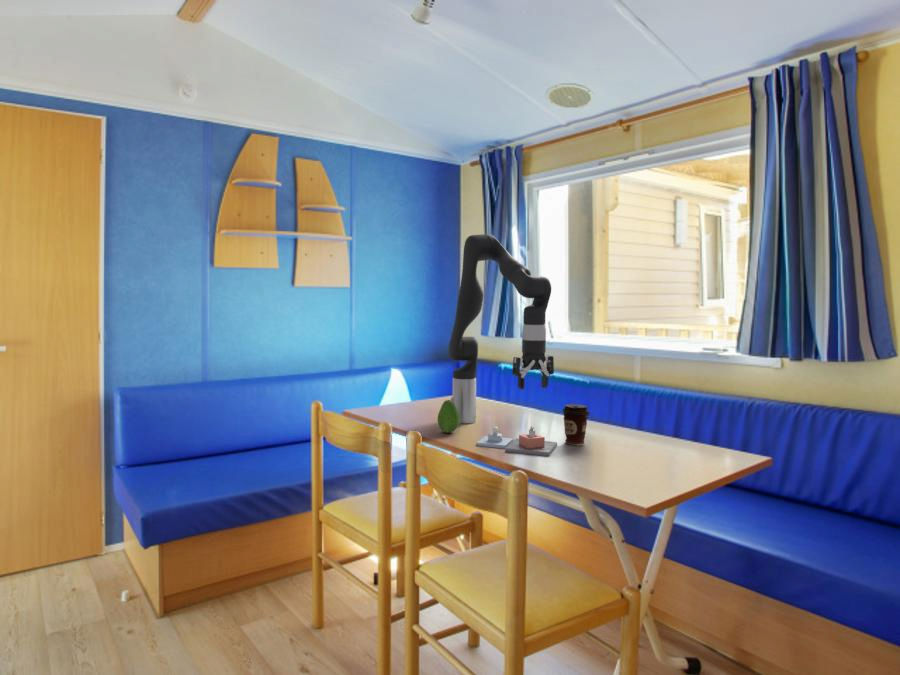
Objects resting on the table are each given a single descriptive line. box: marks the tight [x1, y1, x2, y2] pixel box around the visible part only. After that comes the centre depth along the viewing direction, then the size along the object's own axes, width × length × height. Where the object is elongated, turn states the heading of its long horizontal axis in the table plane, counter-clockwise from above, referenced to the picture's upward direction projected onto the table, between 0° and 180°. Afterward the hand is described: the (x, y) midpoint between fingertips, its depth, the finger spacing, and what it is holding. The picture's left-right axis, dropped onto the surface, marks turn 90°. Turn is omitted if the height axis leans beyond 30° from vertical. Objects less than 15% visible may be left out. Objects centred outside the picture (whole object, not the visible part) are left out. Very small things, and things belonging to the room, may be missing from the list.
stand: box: [475, 426, 514, 449], centre depth 206 cm, size 10×10×6 cm
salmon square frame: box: [518, 433, 546, 448], centre depth 200 cm, size 6×6×3 cm
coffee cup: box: [562, 403, 590, 447], centre depth 207 cm, size 9×8×13 cm
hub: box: [504, 426, 558, 457], centre depth 200 cm, size 14×14×7 cm
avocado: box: [437, 399, 460, 434], centre depth 221 cm, size 8×8×12 cm
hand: (532, 388), depth 199 cm, fingers open, 8 cm apart
